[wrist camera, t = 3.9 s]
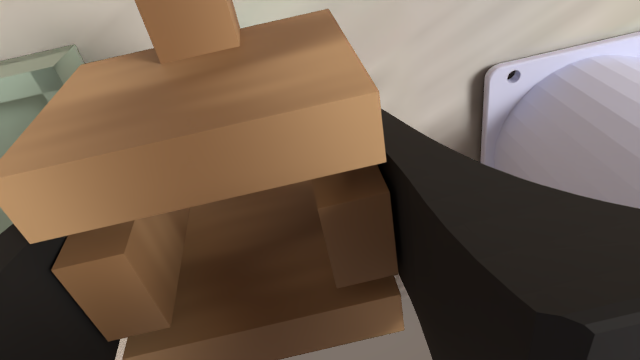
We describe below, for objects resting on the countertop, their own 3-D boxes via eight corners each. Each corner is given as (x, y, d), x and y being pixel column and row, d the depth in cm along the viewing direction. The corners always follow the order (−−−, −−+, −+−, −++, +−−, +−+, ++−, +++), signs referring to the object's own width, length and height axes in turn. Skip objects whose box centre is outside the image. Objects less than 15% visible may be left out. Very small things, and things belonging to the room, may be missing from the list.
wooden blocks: (316, -68, 9) (366, -25, 5) (359, 201, 13) (404, 330, 9) (43, -7, 9) (-101, 81, 5) (174, 244, 13) (147, 390, 9)
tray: (74, 44, 14) (53, 66, 13) (191, 268, 21) (186, 302, 19) (-226, 112, 14) (-286, 143, 13) (-16, 316, 21) (-37, 354, 19)
